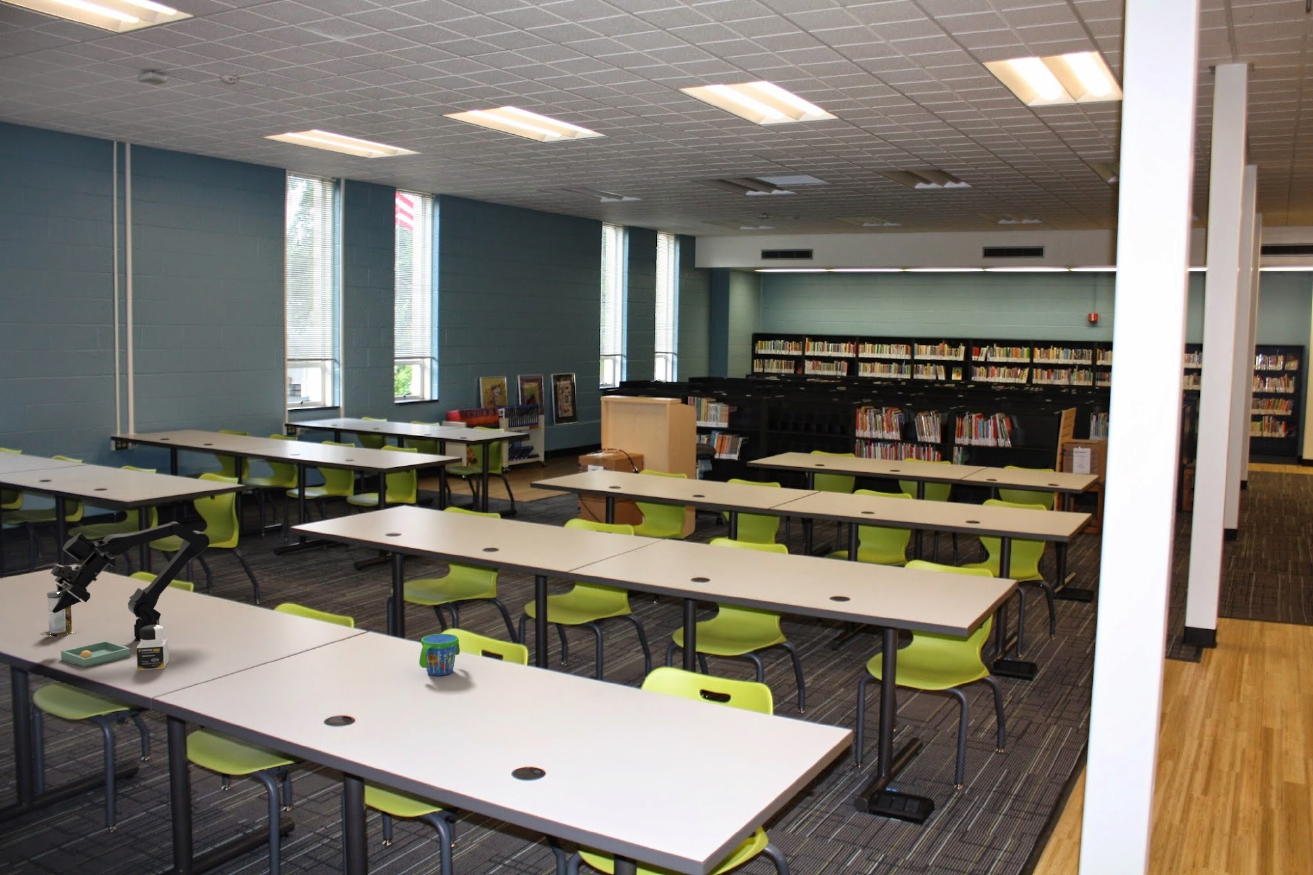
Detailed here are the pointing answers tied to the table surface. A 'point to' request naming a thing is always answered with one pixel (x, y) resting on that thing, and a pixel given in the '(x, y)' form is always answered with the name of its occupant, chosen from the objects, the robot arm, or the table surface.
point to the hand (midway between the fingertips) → (51, 610)
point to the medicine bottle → (152, 648)
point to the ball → (86, 654)
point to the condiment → (68, 624)
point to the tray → (96, 653)
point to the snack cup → (439, 653)
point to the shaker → (55, 619)
